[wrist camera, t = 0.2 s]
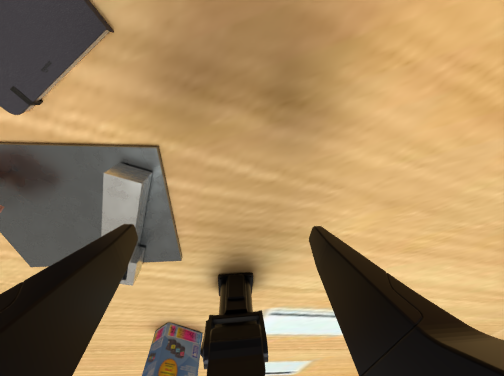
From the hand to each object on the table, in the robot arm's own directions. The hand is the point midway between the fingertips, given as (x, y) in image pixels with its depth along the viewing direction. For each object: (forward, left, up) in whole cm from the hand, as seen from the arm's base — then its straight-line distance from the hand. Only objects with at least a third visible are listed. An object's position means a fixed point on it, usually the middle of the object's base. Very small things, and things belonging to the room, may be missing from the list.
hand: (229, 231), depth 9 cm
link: (-11, +14, -13) cm, 22 cm away
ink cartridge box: (-45, +12, -14) cm, 49 cm away
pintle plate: (-9, +19, -14) cm, 26 cm away
